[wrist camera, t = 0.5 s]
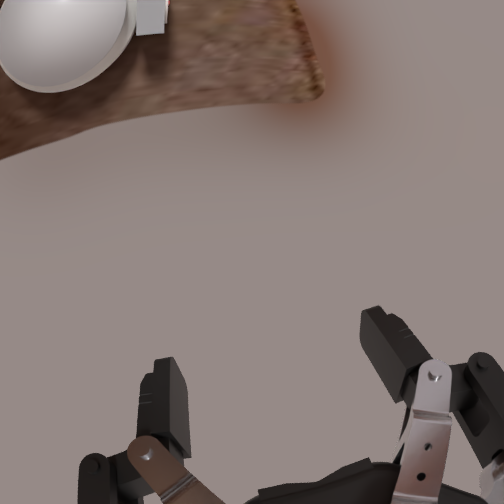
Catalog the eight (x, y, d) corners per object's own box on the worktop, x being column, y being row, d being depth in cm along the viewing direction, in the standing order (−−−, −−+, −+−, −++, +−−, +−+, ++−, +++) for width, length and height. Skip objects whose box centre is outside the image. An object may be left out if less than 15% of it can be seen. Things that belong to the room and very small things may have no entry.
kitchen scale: (13, 100, 23) (-6, 114, 19) (7, -21, 13) (-14, -23, 9) (166, 70, 27) (167, 79, 24) (173, -57, 17) (176, -70, 14)
